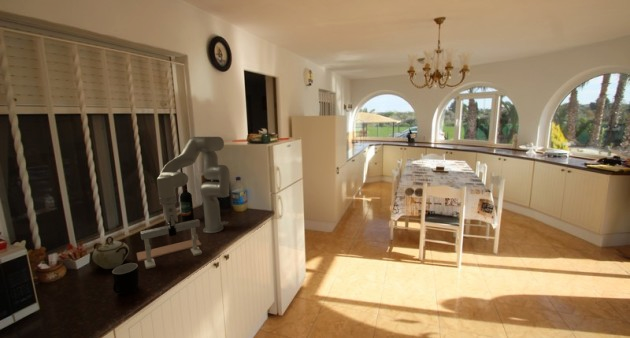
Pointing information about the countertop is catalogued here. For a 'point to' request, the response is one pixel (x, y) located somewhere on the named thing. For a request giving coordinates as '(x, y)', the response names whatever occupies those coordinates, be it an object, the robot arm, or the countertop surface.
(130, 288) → the mug
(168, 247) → the terracotta mat
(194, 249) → the shelf brackets
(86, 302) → the countertop surface
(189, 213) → the wine bottle
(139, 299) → the countertop surface
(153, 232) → the steel rail
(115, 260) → the sugar bowl
